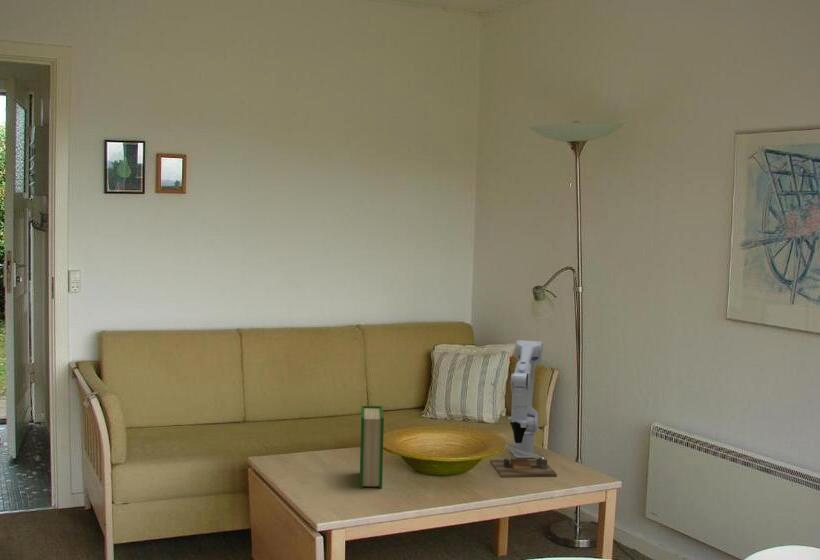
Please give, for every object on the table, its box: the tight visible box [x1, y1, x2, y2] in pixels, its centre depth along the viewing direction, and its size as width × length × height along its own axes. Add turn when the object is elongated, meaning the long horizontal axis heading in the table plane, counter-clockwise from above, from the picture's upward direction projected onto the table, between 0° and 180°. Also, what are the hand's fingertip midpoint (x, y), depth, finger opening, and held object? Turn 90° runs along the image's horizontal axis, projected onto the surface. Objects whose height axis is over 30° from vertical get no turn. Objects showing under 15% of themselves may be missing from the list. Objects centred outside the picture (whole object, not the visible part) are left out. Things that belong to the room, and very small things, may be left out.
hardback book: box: [359, 405, 385, 490], centre depth 306 cm, size 18×7×24 cm, turn 3°
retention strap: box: [505, 443, 545, 460], centre depth 324 cm, size 4×15×1 cm, turn 97°
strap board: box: [489, 454, 557, 478], centre depth 324 cm, size 18×20×4 cm
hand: (518, 442), depth 323 cm, fingers closed
